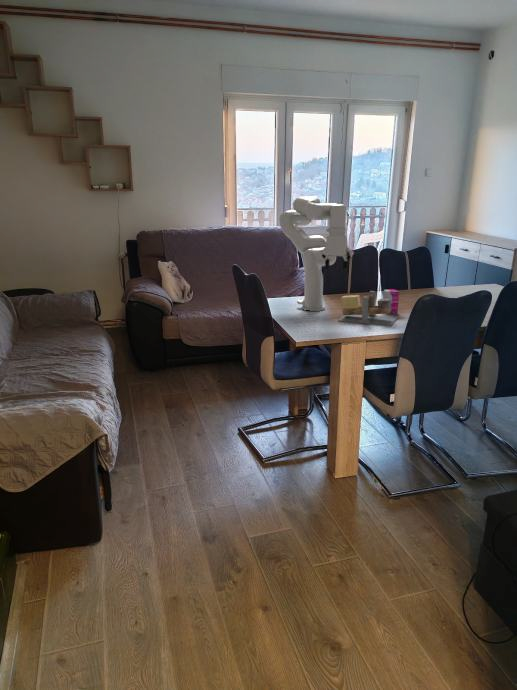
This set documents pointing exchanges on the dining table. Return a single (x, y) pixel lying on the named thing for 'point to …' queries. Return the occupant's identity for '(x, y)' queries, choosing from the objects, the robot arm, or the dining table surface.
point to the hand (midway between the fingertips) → (336, 268)
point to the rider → (351, 302)
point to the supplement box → (392, 299)
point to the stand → (368, 315)
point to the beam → (372, 308)
